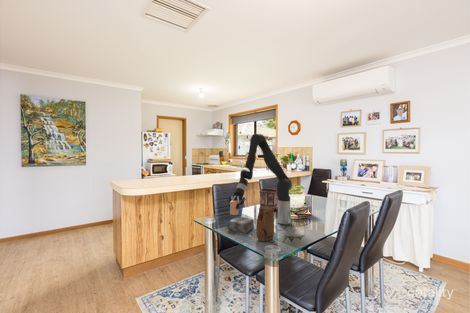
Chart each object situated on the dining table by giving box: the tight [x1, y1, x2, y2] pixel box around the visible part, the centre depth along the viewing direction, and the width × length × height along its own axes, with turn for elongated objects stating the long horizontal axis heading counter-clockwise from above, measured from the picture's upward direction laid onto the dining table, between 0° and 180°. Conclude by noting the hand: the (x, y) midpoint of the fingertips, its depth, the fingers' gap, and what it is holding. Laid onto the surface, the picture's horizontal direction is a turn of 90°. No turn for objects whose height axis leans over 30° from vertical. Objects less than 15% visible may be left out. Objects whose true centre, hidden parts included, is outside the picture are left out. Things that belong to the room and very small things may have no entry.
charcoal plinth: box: [228, 215, 255, 234], centre depth 160 cm, size 13×13×6 cm
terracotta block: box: [229, 200, 240, 216], centre depth 175 cm, size 5×4×10 cm
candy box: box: [304, 194, 313, 215], centre depth 199 cm, size 14×6×16 cm, turn 84°
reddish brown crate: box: [259, 188, 278, 211], centre depth 211 cm, size 18×18×18 cm
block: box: [255, 206, 275, 242], centre depth 141 cm, size 11×8×20 cm
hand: (233, 208), depth 173 cm, fingers closed on terracotta block, 5 cm apart
